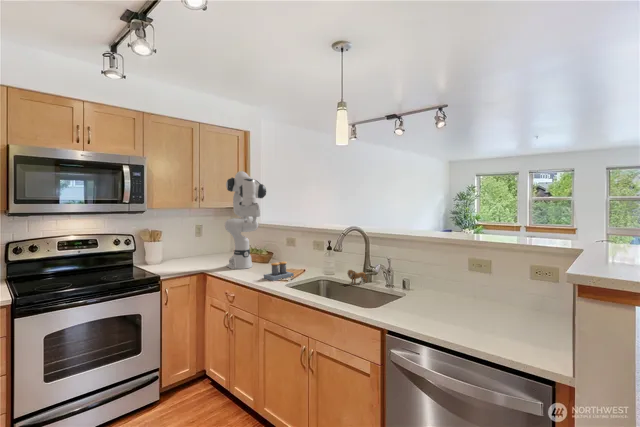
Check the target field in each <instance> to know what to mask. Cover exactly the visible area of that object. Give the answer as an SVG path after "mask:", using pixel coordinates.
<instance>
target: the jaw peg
mask: <svg viewBox="0 0 640 427" xmlns="http://www.w3.org/2000/svg"><path fill="white" fill-rule="evenodd" d="M270 265H271V273H272V275H273V276H277V275H279V262H271V263H270Z"/></svg>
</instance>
